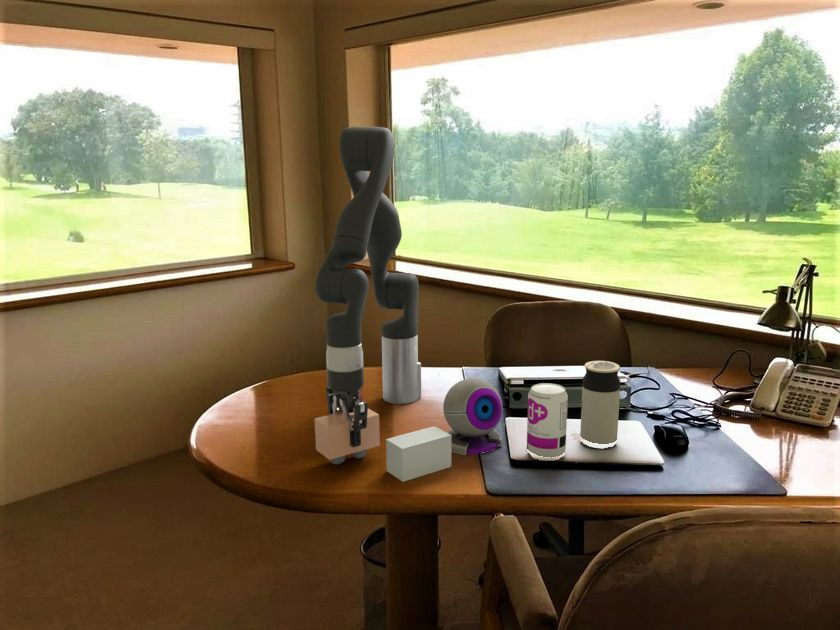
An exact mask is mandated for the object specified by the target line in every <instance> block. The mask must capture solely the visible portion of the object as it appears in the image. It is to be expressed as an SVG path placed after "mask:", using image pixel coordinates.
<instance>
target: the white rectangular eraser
mask: <svg viewBox="0 0 840 630" xmlns="http://www.w3.org/2000/svg"><path fill="white" fill-rule="evenodd" d="M447 432H448V431H445V430H443V429H440V428H439V427H437V426H431V427H426V428H422V429H419V430H414V431H411V432H408V433H404V434H399V435H395V436H392V437H390V438H386V439H385V448H386V450H385V452H386V454H385V455H386V459H385V460H386V472H387V473H389V474H390V475H391V476H393V477H395V478H396V479H398V480H399V481H401V482H402V483H405V482H406V481H411V480H413V479H417V478H420V477H423V476H425V475H429V474H430V475H431V474H433V473H436V472H439V471H442V470H445V469H449V468H451V467H452V452H451V435H450V434H448V433H447Z"/></svg>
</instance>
